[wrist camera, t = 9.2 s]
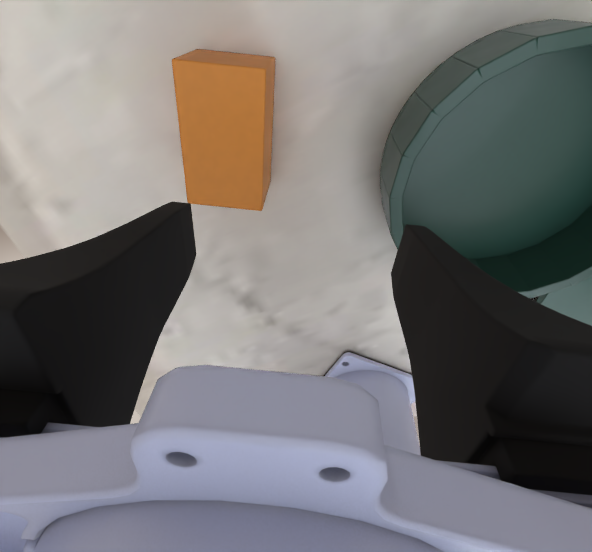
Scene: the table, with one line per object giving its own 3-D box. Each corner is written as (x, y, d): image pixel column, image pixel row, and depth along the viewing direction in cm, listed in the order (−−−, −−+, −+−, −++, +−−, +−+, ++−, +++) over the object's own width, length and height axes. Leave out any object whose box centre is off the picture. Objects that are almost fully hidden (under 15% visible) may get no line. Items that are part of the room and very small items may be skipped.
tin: (504, 288, 23) (530, 330, 20) (338, 213, 21) (341, 248, 18) (705, 105, 16) (788, 128, 13) (493, -44, 14) (539, -56, 11)
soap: (270, 182, 20) (262, 211, 17) (205, 176, 20) (187, 203, 17) (275, 57, 16) (266, 68, 14) (196, 48, 16) (170, 58, 14)
